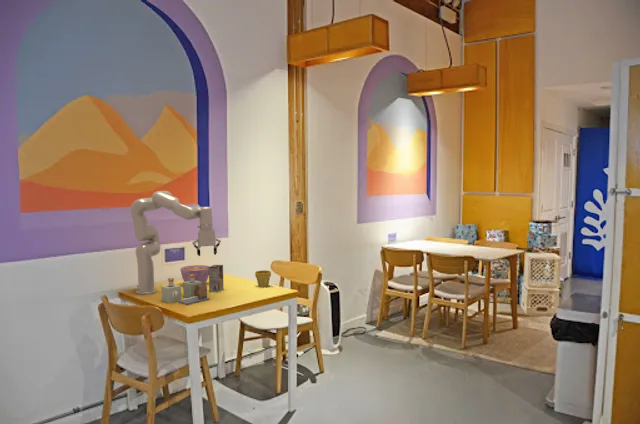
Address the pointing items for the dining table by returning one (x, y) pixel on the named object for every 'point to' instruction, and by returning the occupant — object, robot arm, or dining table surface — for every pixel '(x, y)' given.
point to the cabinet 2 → (189, 288)
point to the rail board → (192, 300)
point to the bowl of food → (195, 272)
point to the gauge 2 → (192, 278)
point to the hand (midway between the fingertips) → (207, 255)
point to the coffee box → (216, 278)
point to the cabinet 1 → (171, 293)
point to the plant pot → (263, 278)
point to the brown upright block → (200, 291)
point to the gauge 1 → (171, 282)
